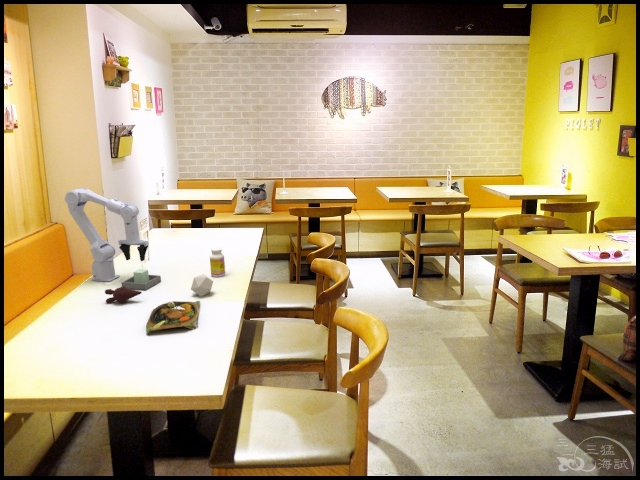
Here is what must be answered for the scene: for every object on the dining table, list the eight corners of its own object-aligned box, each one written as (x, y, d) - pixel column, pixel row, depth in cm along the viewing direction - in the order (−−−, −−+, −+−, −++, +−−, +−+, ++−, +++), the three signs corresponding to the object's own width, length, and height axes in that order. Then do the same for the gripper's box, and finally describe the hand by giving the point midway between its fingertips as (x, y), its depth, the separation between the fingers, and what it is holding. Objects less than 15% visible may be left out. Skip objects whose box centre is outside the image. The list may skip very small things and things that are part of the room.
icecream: (143, 283, 205) (108, 287, 205) (137, 284, 198) (100, 289, 198) (145, 299, 205) (110, 303, 205) (139, 301, 198) (102, 306, 198)
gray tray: (122, 288, 218) (121, 282, 217) (138, 280, 229) (137, 274, 229) (145, 290, 215) (145, 284, 214) (161, 281, 226) (160, 275, 226)
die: (204, 290, 216) (189, 275, 211) (219, 282, 213) (204, 266, 208) (199, 303, 209) (183, 288, 204) (215, 295, 206) (199, 279, 201)
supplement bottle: (222, 277, 230) (220, 251, 227) (208, 277, 231) (206, 250, 228) (227, 273, 237) (225, 247, 233) (214, 272, 238) (212, 247, 235)
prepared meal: (153, 299, 196) (199, 294, 199) (154, 307, 197) (200, 302, 200) (143, 330, 170) (196, 323, 173) (144, 339, 171) (197, 333, 174)
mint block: (134, 285, 221) (133, 272, 219) (140, 281, 225) (139, 269, 224) (143, 285, 220) (142, 272, 218) (149, 282, 224) (147, 269, 222)
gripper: (151, 230, 227) (154, 258, 230) (123, 229, 230) (127, 256, 234) (141, 233, 220) (145, 262, 224) (114, 232, 224) (117, 261, 227)
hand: (135, 260), depth 228 cm, fingers open, 7 cm apart
